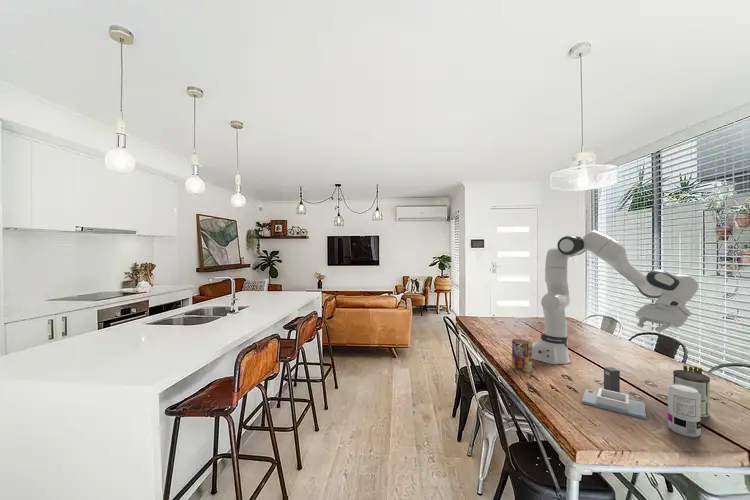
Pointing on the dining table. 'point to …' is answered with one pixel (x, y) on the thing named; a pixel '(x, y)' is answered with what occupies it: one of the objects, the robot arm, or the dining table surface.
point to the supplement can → (684, 410)
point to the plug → (612, 379)
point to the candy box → (522, 355)
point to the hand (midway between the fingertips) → (648, 328)
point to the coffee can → (695, 386)
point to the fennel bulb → (692, 369)
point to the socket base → (614, 402)
